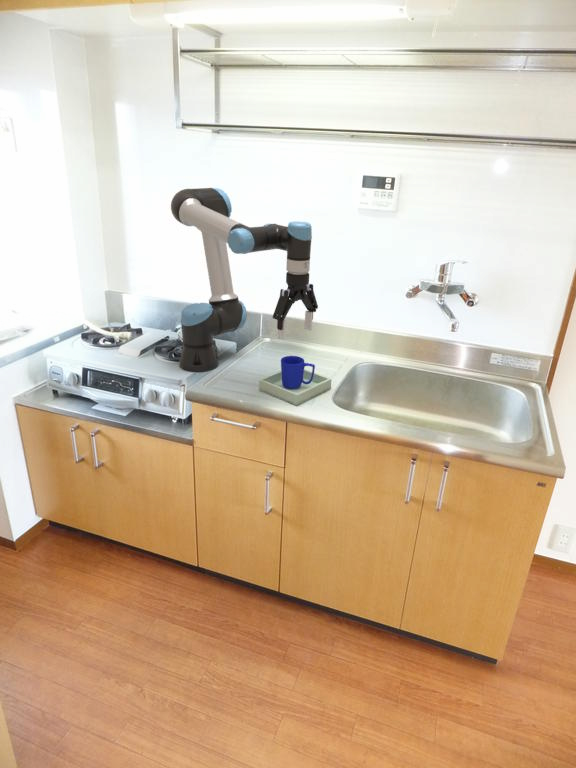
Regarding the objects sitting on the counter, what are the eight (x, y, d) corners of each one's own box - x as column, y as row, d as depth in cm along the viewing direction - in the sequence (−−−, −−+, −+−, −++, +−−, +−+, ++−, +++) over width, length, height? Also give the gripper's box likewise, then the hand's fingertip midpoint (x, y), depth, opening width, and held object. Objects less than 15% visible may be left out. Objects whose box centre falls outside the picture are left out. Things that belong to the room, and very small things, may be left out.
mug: (311, 393, 174) (312, 366, 170) (277, 389, 177) (278, 362, 173) (316, 384, 182) (317, 358, 177) (283, 380, 184) (284, 354, 180)
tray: (258, 390, 178) (259, 379, 176) (293, 375, 190) (294, 365, 189) (296, 406, 167) (297, 395, 166) (330, 389, 180) (331, 378, 178)
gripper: (279, 279, 153) (277, 345, 162) (330, 268, 170) (326, 328, 179) (262, 275, 157) (261, 339, 166) (313, 264, 174) (310, 323, 183)
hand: (295, 334), depth 173 cm, fingers open, 13 cm apart
